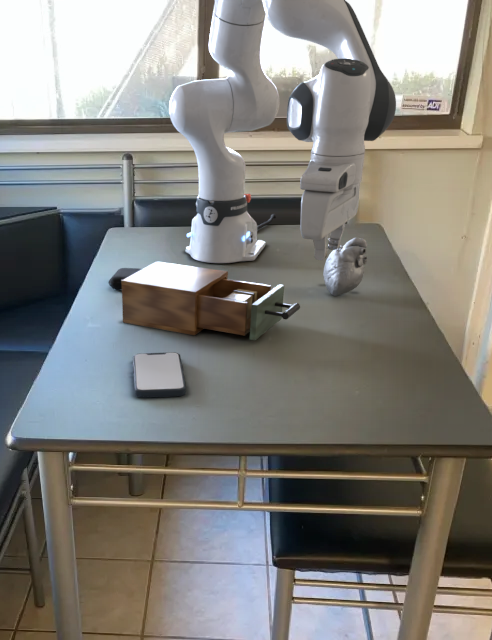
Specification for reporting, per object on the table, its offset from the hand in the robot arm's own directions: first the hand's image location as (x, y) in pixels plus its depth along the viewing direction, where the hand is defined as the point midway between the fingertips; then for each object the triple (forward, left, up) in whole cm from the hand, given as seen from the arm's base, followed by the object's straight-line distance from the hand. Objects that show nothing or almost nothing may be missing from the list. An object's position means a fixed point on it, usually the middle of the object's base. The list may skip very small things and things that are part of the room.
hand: (327, 253), depth 146 cm
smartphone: (+29, -19, -17) cm, 38 cm away
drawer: (0, -15, -16) cm, 22 cm away
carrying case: (-14, -47, -17) cm, 52 cm away
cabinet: (0, -31, -17) cm, 35 cm away
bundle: (0, -17, -15) cm, 22 cm away
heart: (-30, -6, -17) cm, 35 cm away
